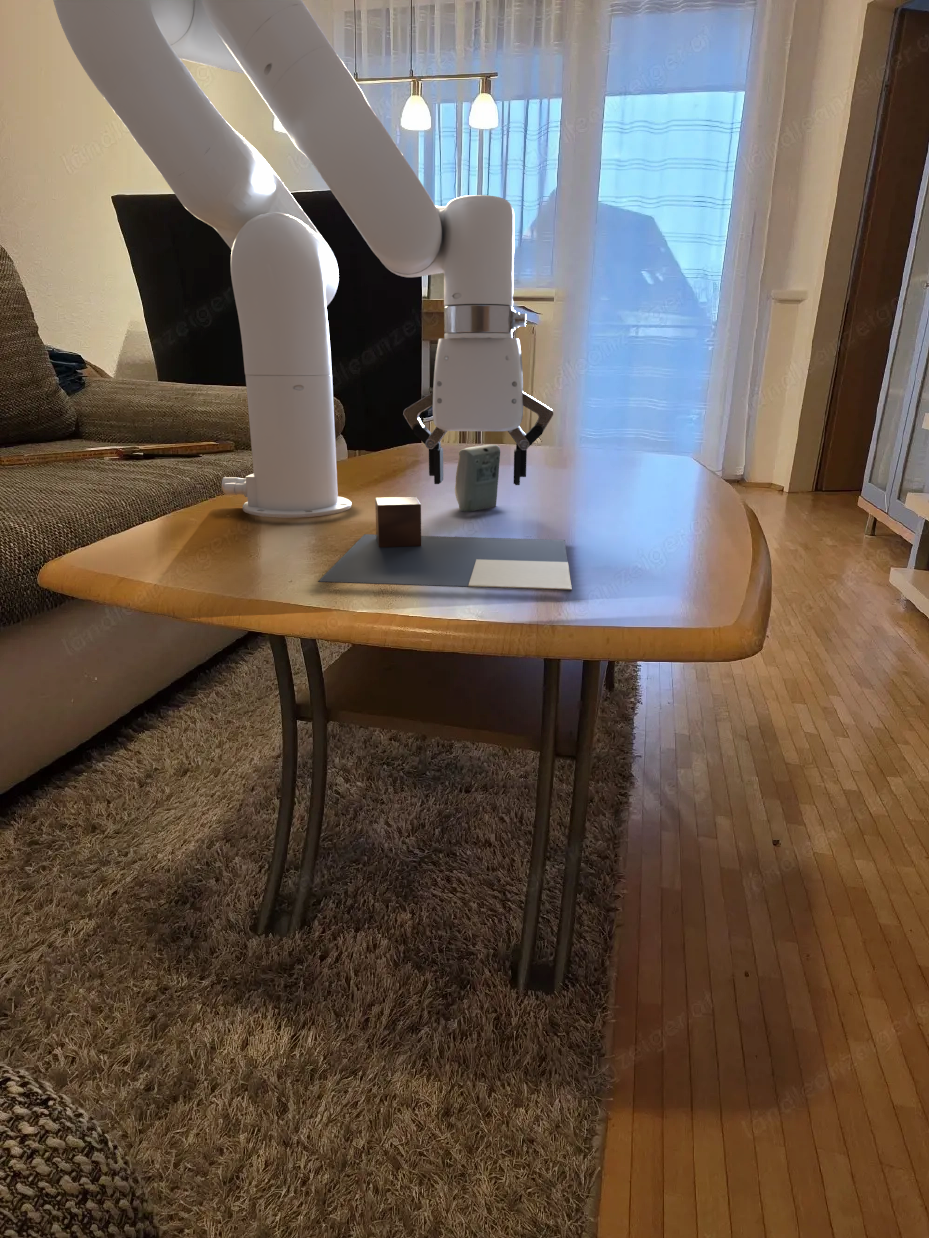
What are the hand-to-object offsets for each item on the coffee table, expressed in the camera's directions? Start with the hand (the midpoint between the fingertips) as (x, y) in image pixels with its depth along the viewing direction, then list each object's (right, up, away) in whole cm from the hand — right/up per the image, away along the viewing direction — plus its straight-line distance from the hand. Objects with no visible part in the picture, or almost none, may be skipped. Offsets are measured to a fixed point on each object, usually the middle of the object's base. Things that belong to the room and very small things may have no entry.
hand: (477, 482), depth 89 cm
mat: (-3, -11, -21) cm, 24 cm away
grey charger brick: (0, -4, +1) cm, 4 cm away
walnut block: (-8, -9, -16) cm, 20 cm away
